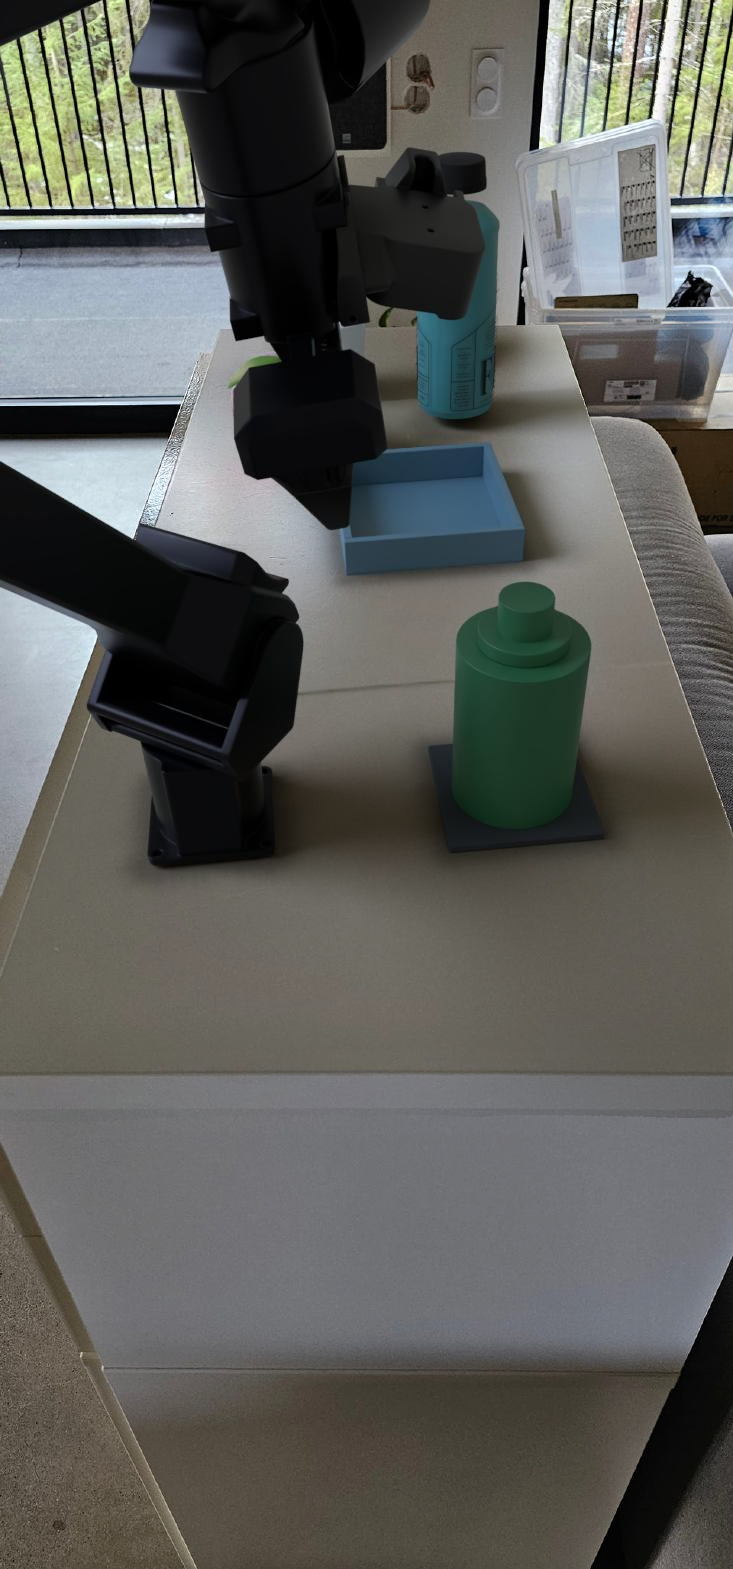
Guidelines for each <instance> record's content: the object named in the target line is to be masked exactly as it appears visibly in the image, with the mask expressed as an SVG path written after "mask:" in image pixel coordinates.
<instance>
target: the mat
mask: <svg viewBox="0 0 733 1569" xmlns="http://www.w3.org/2000/svg"><path fill="white" fill-rule="evenodd" d="M427 752H428V757H429V761H430V765H431V770H432V776H433V780H434V785H435V790H436V795H437V800H438V804H439V810H440V813H441V814H440V815H441V818H442V824H443V828H444V833H445V837H446V841H447V847H448V852H449V853H460V852H461V853H462V852H472V851H482V850H483V851H484V850H493V849H494V850H495V849H503V848H504V849H505V848H514V847H516V848H517V847H527V846H536V845H537V846H539V845H548V844H549V845H550V844H560V843H571V842H582V841H583V842H584V841H592V840H593V841H594V840H604V839H605V836H606V832H605V830H604V827H603V824H602V822H601V819H600V816H599V813H598V811H597V807H596V805H595V802H594V799H593V796H592V794H591V790H590V788H589V785H588V782H587V780H586V777H585V775H584V772H583V769H582V766H581V764H580V761H579V758H578V757H577V761H576V769H575V776H574V784H573V791H572V797H571V801H570V803H569V805H568V806H567V808H566V809H565V811H564V812H563V813H562V814H561V815H559V816H558V817H557V818H556V819H554V820H552V821H550V822H548V823H546V824H544V825H541V826H537V827H533V828H528V829H503V828H498V827H493V826H490V825H487V824H484V823H482V822H480V821H478V820H476V819H474V818H472V817H471V816H469V815H468V814H467V813H466V812H464V811H463V810H462V809H461V807H460V806H459V805H458V803H457V802H456V800H455V798H454V796H453V792H452V756H453V743H446V744H444V743H443V744H434V745H433V744H432V745H428V746H427Z"/></svg>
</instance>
